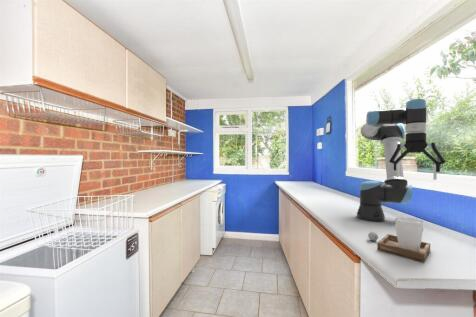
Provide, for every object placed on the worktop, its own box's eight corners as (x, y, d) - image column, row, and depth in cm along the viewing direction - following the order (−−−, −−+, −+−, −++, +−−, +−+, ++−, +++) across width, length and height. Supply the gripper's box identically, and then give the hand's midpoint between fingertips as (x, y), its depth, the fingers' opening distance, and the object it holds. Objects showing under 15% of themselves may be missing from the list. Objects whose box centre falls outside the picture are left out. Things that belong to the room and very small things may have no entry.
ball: (369, 238, 104) (369, 229, 104) (379, 240, 101) (379, 232, 101) (366, 240, 101) (366, 231, 101) (376, 242, 98) (376, 234, 98)
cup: (428, 254, 84) (428, 223, 84) (402, 252, 86) (402, 222, 86) (414, 245, 93) (414, 217, 93) (391, 243, 95) (391, 216, 95)
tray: (387, 240, 101) (387, 234, 101) (430, 250, 90) (430, 243, 90) (377, 249, 91) (377, 242, 91) (424, 262, 80) (424, 254, 80)
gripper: (382, 134, 109) (382, 177, 109) (452, 129, 90) (452, 181, 90) (386, 135, 114) (386, 176, 114) (453, 131, 95) (453, 179, 95)
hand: (415, 178), depth 102 cm, fingers open, 13 cm apart
